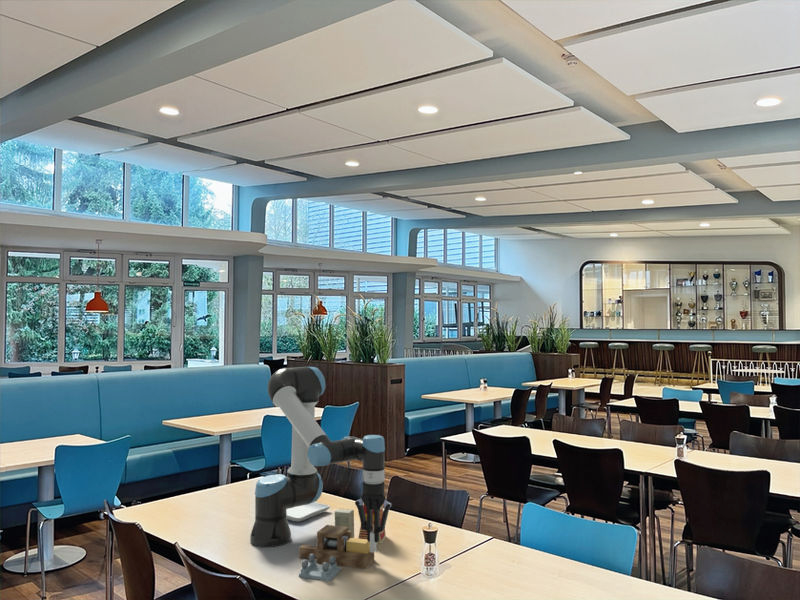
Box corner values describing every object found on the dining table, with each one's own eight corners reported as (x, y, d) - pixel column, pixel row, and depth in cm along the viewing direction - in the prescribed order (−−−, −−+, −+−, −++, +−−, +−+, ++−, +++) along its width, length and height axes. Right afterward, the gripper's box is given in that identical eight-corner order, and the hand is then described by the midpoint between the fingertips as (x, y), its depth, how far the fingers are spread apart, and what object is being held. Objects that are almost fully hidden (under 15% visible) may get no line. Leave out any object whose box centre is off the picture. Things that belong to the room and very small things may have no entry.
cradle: (298, 576, 206) (298, 561, 206) (310, 566, 214) (310, 551, 215) (330, 580, 203) (330, 565, 203) (340, 570, 211) (340, 555, 211)
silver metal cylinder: (317, 550, 220) (317, 535, 220) (323, 545, 225) (323, 531, 225) (344, 553, 217) (344, 538, 217) (349, 548, 222) (349, 534, 222)
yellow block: (346, 553, 217) (346, 541, 217) (350, 549, 221) (350, 537, 221) (365, 555, 215) (365, 543, 215) (369, 551, 219) (369, 539, 219)
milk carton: (380, 543, 237) (381, 489, 237) (357, 541, 238) (357, 488, 239) (386, 535, 245) (386, 483, 246) (363, 533, 247) (363, 482, 248)
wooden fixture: (295, 559, 220) (295, 529, 221) (306, 551, 228) (306, 522, 229) (366, 568, 213) (366, 537, 213) (374, 559, 221) (374, 529, 221)
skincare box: (354, 542, 238) (354, 509, 238) (350, 546, 234) (350, 512, 234) (339, 540, 240) (339, 507, 240) (334, 544, 236) (334, 511, 236)
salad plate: (331, 512, 275) (331, 504, 276) (299, 526, 258) (299, 517, 258) (294, 505, 287) (295, 497, 287) (261, 517, 269) (261, 509, 269)
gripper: (351, 482, 216) (351, 552, 215) (388, 485, 212) (387, 557, 211) (359, 477, 223) (359, 545, 222) (394, 480, 219) (394, 549, 218)
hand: (373, 551), depth 217 cm, fingers closed
